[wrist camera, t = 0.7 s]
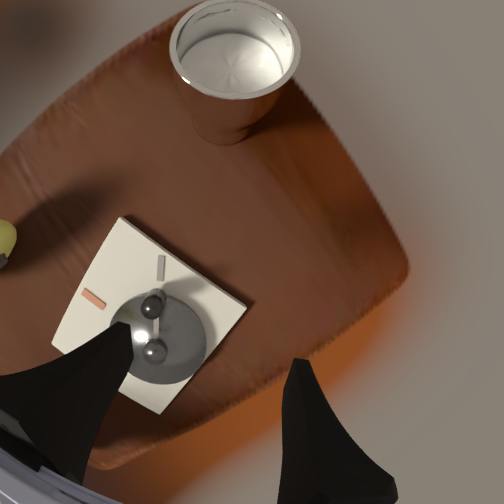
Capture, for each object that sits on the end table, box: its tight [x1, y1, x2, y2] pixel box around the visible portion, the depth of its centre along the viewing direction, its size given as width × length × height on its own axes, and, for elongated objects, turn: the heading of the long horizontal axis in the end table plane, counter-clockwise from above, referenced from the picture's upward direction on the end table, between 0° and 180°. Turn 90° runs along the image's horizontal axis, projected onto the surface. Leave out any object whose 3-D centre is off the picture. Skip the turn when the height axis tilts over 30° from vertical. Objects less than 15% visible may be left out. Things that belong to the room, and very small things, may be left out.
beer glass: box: [169, 0, 301, 145], centre depth 19 cm, size 7×7×15 cm
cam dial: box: [109, 288, 207, 385], centre depth 27 cm, size 11×10×4 cm
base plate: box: [51, 217, 247, 415], centre depth 29 cm, size 17×15×1 cm
